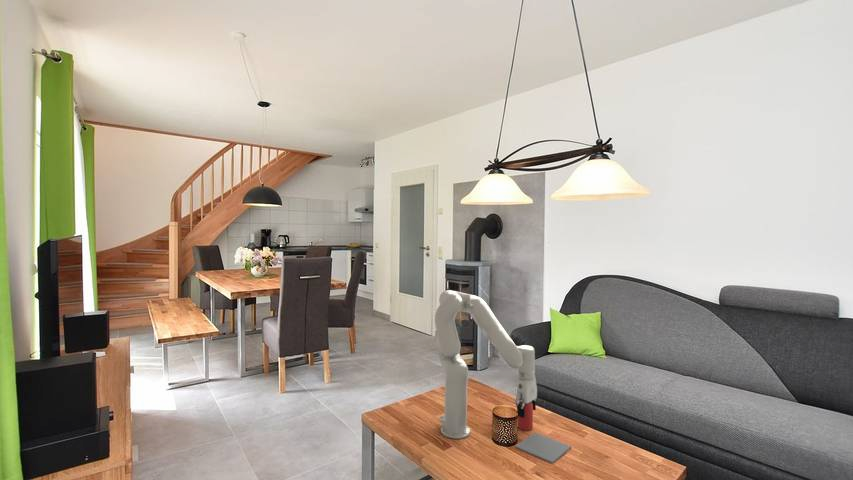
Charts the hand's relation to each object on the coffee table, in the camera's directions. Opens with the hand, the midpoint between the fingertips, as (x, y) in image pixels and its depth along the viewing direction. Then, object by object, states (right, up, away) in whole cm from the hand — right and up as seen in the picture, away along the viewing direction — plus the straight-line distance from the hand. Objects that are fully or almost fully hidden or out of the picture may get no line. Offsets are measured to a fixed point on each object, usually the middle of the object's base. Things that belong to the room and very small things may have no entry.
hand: (526, 412), depth 177 cm
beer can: (-1, -7, 0) cm, 7 cm away
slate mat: (+2, -7, -17) cm, 18 cm away
